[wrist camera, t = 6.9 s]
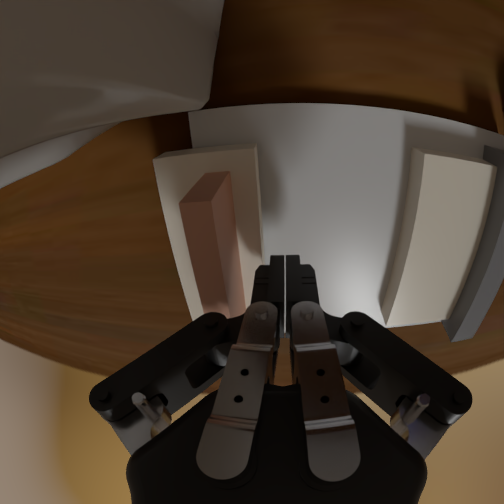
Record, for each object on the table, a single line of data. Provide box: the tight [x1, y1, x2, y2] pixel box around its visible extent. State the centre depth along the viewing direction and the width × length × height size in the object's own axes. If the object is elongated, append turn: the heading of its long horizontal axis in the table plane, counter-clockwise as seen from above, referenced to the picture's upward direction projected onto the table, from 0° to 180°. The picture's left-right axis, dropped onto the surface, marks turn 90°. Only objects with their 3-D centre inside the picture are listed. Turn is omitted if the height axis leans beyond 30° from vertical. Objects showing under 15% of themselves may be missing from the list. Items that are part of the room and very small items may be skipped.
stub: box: [153, 143, 265, 321], centre depth 14 cm, size 5×12×5 cm, turn 5°
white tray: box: [188, 103, 504, 342], centre depth 15 cm, size 20×16×4 cm
